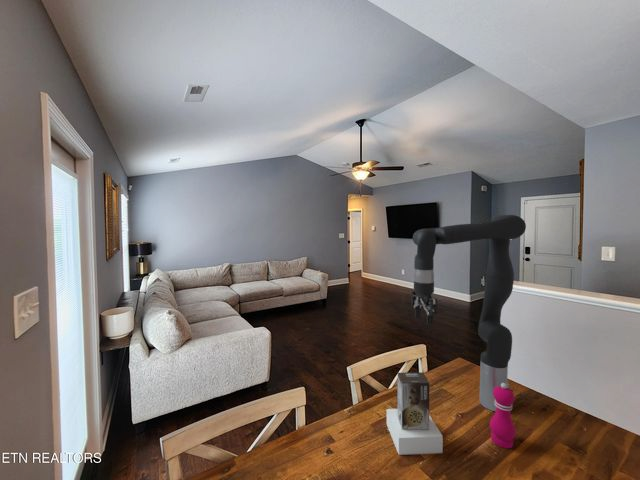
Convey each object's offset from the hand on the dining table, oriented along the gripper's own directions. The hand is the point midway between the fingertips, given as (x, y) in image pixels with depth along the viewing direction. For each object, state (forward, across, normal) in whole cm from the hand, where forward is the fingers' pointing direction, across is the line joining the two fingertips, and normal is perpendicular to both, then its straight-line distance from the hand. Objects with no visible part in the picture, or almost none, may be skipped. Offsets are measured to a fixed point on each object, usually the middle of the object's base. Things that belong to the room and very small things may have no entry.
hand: (423, 320), depth 115 cm
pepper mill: (+34, -24, -14) cm, 44 cm away
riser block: (+34, -16, +14) cm, 40 cm away
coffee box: (+28, -17, +14) cm, 36 cm away
